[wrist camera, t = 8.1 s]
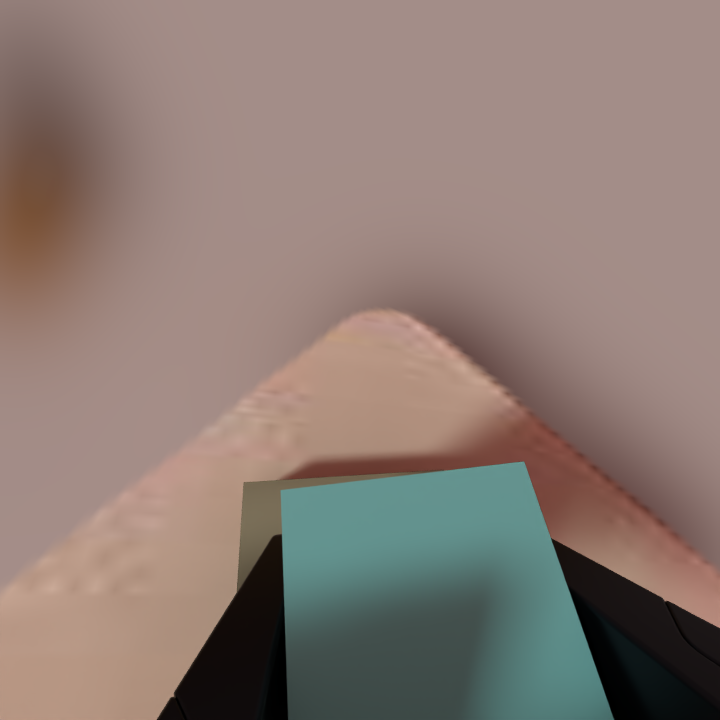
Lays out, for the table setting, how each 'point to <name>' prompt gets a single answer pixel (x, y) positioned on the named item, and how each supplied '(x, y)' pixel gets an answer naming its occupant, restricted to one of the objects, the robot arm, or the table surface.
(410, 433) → the table surface
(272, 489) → the base brick
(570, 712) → the pillar brick
